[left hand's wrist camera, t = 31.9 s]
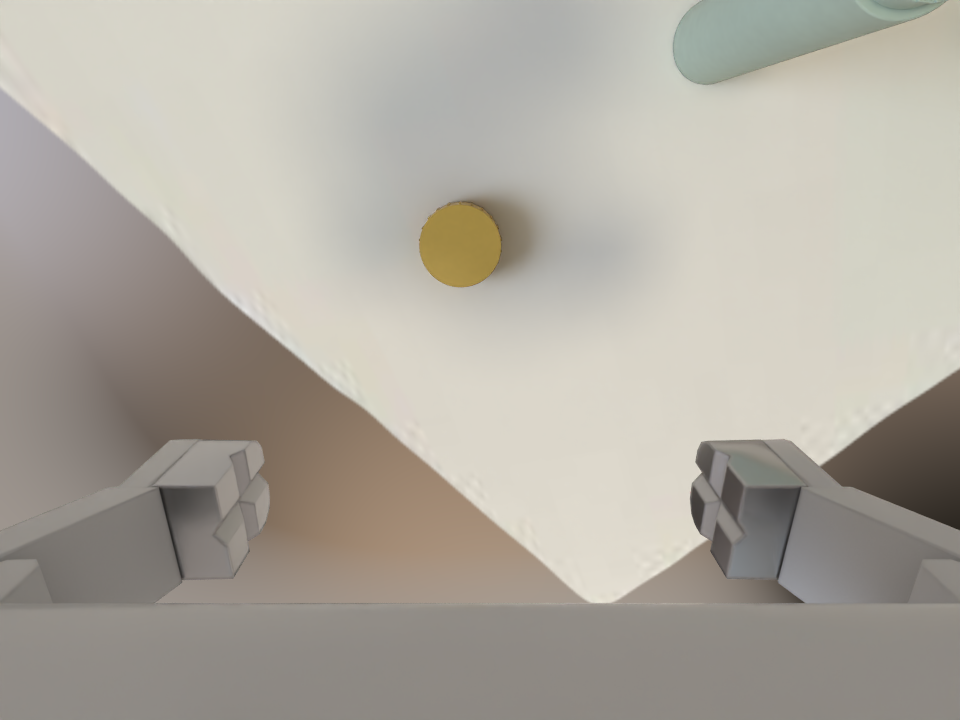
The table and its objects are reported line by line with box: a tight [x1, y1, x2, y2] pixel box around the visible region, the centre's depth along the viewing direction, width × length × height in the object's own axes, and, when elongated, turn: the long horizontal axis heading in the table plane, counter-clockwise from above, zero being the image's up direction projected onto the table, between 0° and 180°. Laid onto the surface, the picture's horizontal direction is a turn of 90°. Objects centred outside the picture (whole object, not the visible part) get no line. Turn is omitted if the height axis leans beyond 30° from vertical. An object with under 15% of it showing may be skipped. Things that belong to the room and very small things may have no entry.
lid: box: [419, 201, 502, 287], centre depth 37 cm, size 6×6×2 cm
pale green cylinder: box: [673, 0, 947, 84], centre depth 25 cm, size 5×5×19 cm
